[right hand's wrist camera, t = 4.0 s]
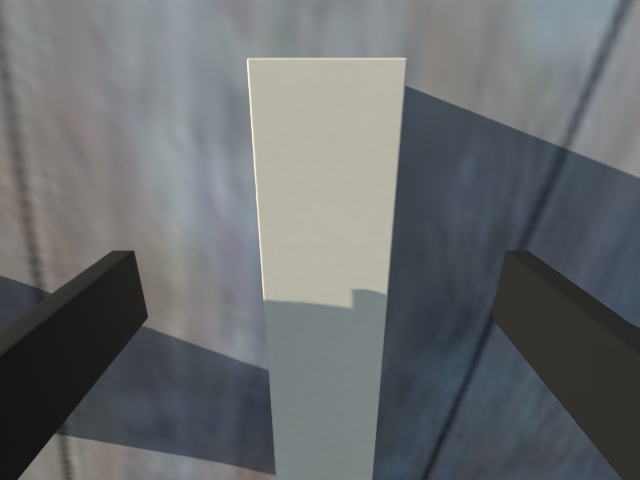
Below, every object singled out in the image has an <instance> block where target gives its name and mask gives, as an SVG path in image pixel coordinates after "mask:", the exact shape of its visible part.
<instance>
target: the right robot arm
mask: <svg viewBox="0 0 640 480" xmlns="http://www.w3.org/2000/svg"><path fill="white" fill-rule="evenodd" d="M147 318H148V314H147V309H146V305H145V300H144V295H143V290H142V286H141V281H140V276H139V271H138V267H137V262H136V257H135V253H134V251H111V252H110V253H109V254H107V255H106V256H104V257H103V258H102V259H100V260H99V261H97V262H96V263H94V264H93V265H92V266H90V267H89V268H87V269H86V270H85V271H83V272H82V273H80V274H79V275H78V276H76V277H75V278H73V279H72V280H70V281H69V282H68V283H66V284H65V285H63V286H62V287H61V288H59V289H58V290H56V291H55V292H54V293H52V294H51V295H49V296H48V297H47V298H45V299H44V300H42V301H41V302H39V303H38V304H37V305H35V306H34V307H32V308H31V309H30V310H28V311H27V312H25V313H24V314H23V315H21V316H20V317H18V318H17V319H16V320H14V321H13V322H11V323H10V324H8V325H7V326H6V327H4V328H3V329H0V480H18V478H19V477H20V476H21V475H22V473H23V472H24V471H25V470H26V468H27V467H28V466H29V465H30V463H31V462H32V461H33V460H34V458H35V457H36V456H37V455H38V454H39V452H40V451H41V450H42V449H43V447H44V446H45V445H46V444H47V442H48V441H49V440H50V439H51V437H52V436H53V435H54V434H55V432H56V431H57V430H58V429H59V427H60V426H61V425H62V424H63V422H64V421H65V420H66V419H67V417H68V416H69V415H70V414H71V412H72V411H73V410H74V409H75V408H76V406H77V405H78V404H79V403H80V401H81V400H82V399H83V398H84V396H85V395H86V394H87V393H88V391H89V390H90V389H91V388H92V386H93V385H94V384H95V383H96V381H97V380H98V379H99V378H100V376H101V375H102V374H103V373H104V371H105V370H106V369H107V368H108V366H109V365H110V364H111V363H112V362H113V360H114V359H115V358H116V357H117V355H118V354H119V353H120V352H121V350H122V349H123V348H124V347H125V345H126V344H127V343H128V342H129V340H130V339H131V338H132V337H133V335H134V334H135V333H136V332H137V330H138V329H139V328H140V327H141V325H142V324H143V323H144V322H145V320H146V319H147ZM492 318H493V319H494V320H495V322H496V323H497V324H498V325H499V327H500V328H501V329H502V330H503V332H504V333H505V334H506V335H507V337H508V338H509V339H510V340H511V342H512V343H513V344H514V345H515V347H516V348H517V349H518V350H519V352H520V353H521V354H522V355H523V357H524V358H525V359H526V360H527V362H528V363H529V364H530V365H531V366H532V368H533V369H534V370H535V371H536V373H537V374H538V375H539V376H540V378H541V379H542V380H543V381H544V383H545V384H546V385H547V386H548V388H549V389H550V390H551V391H552V393H553V394H554V395H555V396H556V398H557V399H558V400H559V401H560V403H561V404H562V405H563V406H564V408H565V409H566V410H567V411H568V412H569V414H570V415H571V416H572V417H573V419H574V420H575V421H576V422H577V424H578V425H579V426H580V427H581V429H582V430H583V431H584V432H585V434H586V435H587V436H588V437H589V439H590V440H591V441H592V442H593V444H594V445H595V446H596V447H597V449H598V450H599V451H600V452H601V454H602V455H603V456H604V457H605V458H606V460H607V461H608V462H609V463H610V465H611V466H612V467H613V468H614V470H615V471H616V472H617V473H618V475H619V476H620V477H621V478H622V480H640V328H639V327H637V326H634V325H632V324H630V323H629V322H627V321H626V320H624V319H623V318H622V317H620V316H619V315H617V314H616V313H615V312H613V311H612V310H610V309H609V308H608V307H606V306H605V305H603V304H602V303H601V302H599V301H598V300H596V299H595V298H593V297H592V296H591V295H589V294H588V293H586V292H585V291H584V290H582V289H581V288H579V287H578V286H577V285H575V284H574V283H572V282H571V281H570V280H568V279H567V278H565V277H564V276H562V275H561V274H560V273H558V272H557V271H555V270H554V269H553V268H551V267H550V266H548V265H547V264H546V263H544V262H543V261H541V260H540V259H538V258H537V257H536V256H534V255H533V254H531V253H530V252H529V251H506V253H505V257H504V262H503V267H502V271H501V276H500V281H499V286H498V290H497V295H496V300H495V305H494V309H493V314H492Z"/></svg>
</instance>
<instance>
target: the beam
mask: <svg viewBox="0 0 640 480" xmlns="http://www.w3.org/2000/svg"><path fill="white" fill-rule="evenodd" d="M247 69H248V83H249V97H250V111H251V126H252V140H253V154H254V169H255V183H256V197H257V212H258V226H259V240H260V254H261V269H262V283H263V297H264V312H265V326H266V340H267V355H268V369H269V383H270V398H271V412H272V426H273V440H274V455H275V469H276V480H372V478H373V466H374V454H375V442H376V430H377V418H378V406H379V394H380V382H381V370H382V358H383V346H384V334H385V322H386V310H387V298H388V287H389V275H390V263H391V251H392V239H393V227H394V215H395V203H396V191H397V179H398V167H399V155H400V143H401V131H402V119H403V107H404V95H405V83H406V71H407V59H406V58H248V59H247Z"/></svg>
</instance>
